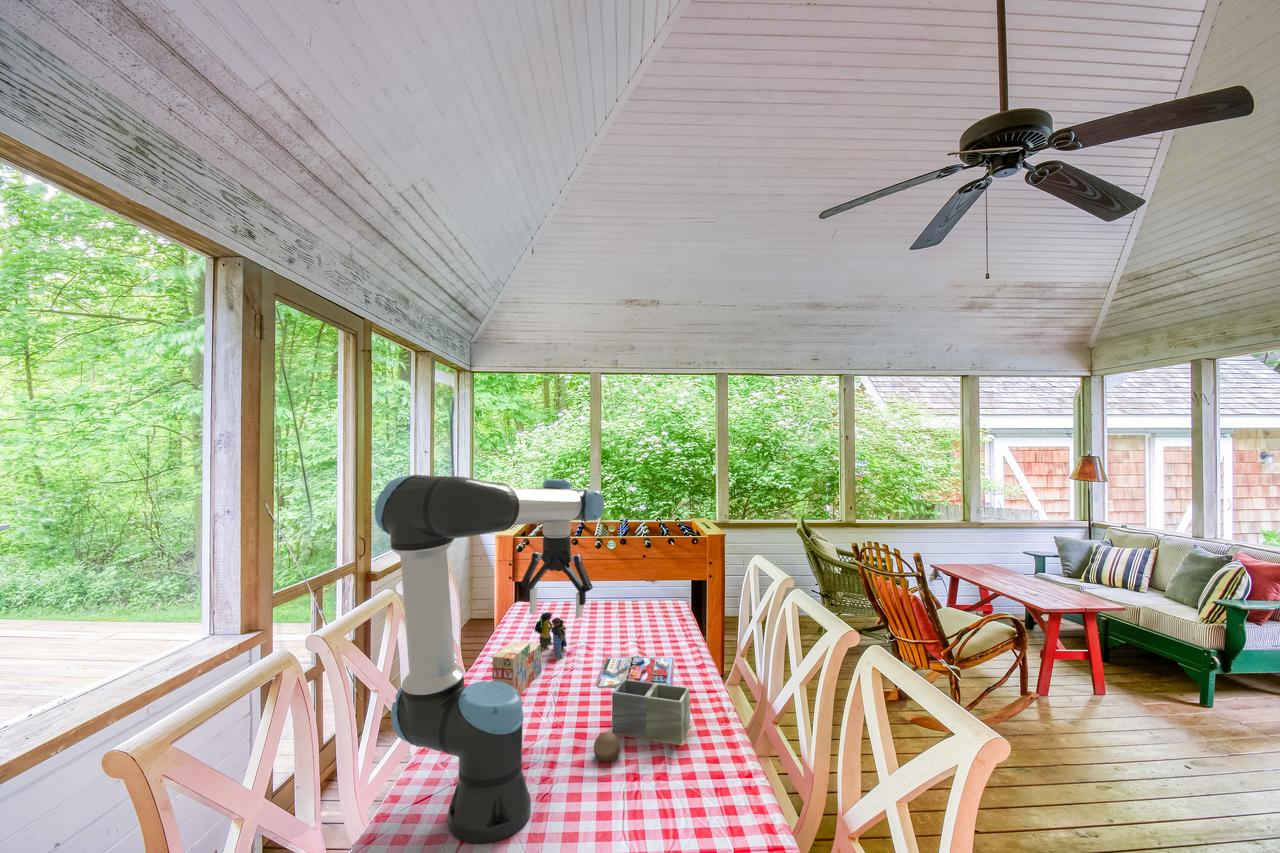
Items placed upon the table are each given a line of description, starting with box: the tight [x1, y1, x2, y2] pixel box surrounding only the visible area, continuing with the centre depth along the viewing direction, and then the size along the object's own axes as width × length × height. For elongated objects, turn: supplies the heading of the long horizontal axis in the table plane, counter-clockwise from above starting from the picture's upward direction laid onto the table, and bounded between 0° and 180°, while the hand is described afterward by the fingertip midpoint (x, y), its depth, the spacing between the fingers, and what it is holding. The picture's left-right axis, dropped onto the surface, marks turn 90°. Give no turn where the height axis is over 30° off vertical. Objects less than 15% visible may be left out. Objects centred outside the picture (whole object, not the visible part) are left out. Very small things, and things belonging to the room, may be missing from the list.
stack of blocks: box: [491, 641, 542, 695], centre depth 168 cm, size 21×6×12 cm, turn 168°
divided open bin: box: [609, 679, 693, 747], centre depth 140 cm, size 10×18×10 cm, turn 72°
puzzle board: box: [594, 654, 675, 690], centre depth 174 cm, size 30×23×3 cm
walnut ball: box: [593, 731, 622, 763], centre depth 127 cm, size 6×6×6 cm
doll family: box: [531, 612, 569, 660], centre depth 198 cm, size 23×9×13 cm, turn 42°
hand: (555, 615), depth 154 cm, fingers open, 13 cm apart
